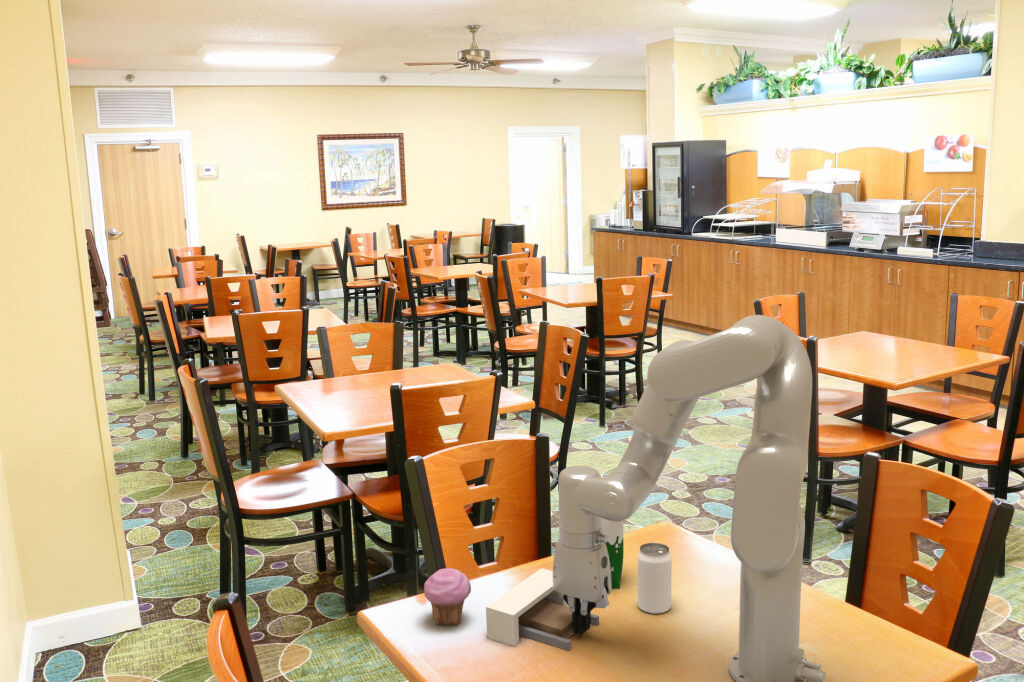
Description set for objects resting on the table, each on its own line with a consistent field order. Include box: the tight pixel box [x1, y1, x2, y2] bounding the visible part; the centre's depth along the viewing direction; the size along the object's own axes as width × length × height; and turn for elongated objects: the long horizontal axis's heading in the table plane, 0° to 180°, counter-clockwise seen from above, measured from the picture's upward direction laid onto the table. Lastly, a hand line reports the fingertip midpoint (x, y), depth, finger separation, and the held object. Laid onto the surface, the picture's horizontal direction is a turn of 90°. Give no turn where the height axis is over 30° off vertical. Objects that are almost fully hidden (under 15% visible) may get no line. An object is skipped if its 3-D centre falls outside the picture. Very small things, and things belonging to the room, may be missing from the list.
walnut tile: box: [518, 599, 575, 640], centre depth 162 cm, size 11×8×3 cm
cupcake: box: [423, 567, 472, 626], centre depth 164 cm, size 9×9×10 cm
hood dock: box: [485, 567, 600, 652], centre depth 161 cm, size 15×19×6 cm
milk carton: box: [601, 518, 625, 589], centre depth 178 cm, size 9×9×20 cm
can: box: [636, 542, 673, 615], centre depth 167 cm, size 6×6×12 cm
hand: (581, 630), depth 158 cm, fingers closed
